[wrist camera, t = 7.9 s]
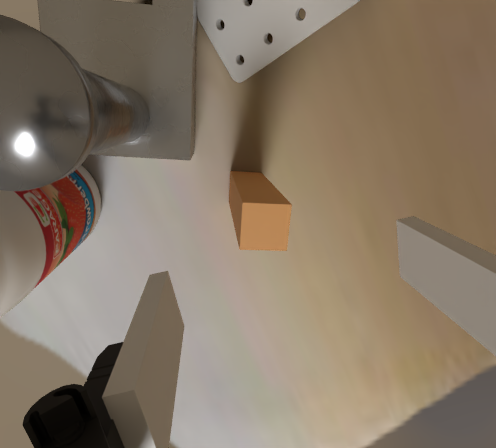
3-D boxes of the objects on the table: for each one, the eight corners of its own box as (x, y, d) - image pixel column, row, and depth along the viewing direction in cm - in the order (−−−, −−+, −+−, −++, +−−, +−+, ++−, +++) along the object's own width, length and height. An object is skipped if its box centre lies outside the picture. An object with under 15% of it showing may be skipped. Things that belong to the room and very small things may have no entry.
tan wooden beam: (261, 172, 33) (291, 204, 21) (259, 202, 34) (286, 250, 22) (230, 170, 33) (242, 202, 20) (228, 201, 34) (239, 249, 21)
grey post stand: (198, -50, 27) (165, -506, 7) (193, 152, 32) (166, 209, 12) (66, -68, 26) (-396, -664, 6) (81, 146, 31) (-158, 196, 11)
